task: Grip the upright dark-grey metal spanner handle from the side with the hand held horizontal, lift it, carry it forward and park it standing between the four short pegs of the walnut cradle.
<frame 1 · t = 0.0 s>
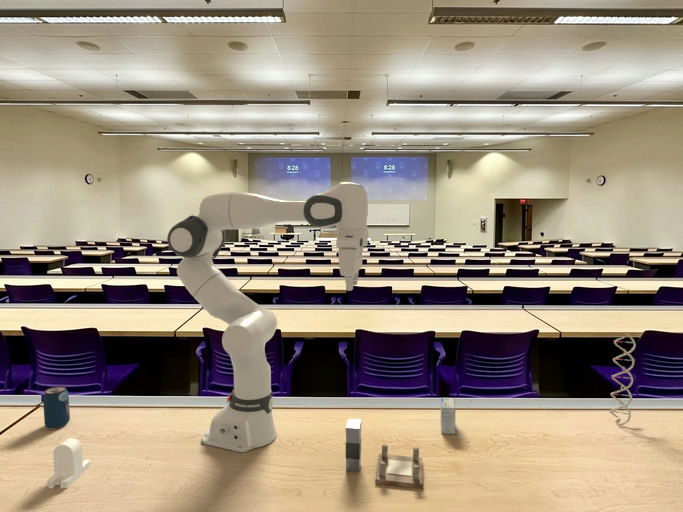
hand: (351, 287, 124), 48 cm above the table, tool pointing down, fingers open, 8 cm apart
peg cradle: (399, 472, 116), on the table
medicine box: (447, 428, 140), on the table
dna model: (619, 423, 144), on the table
cable organizer: (69, 477, 113), on the table
soda can: (57, 425, 141), on the table
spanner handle: (353, 467, 118), on the table
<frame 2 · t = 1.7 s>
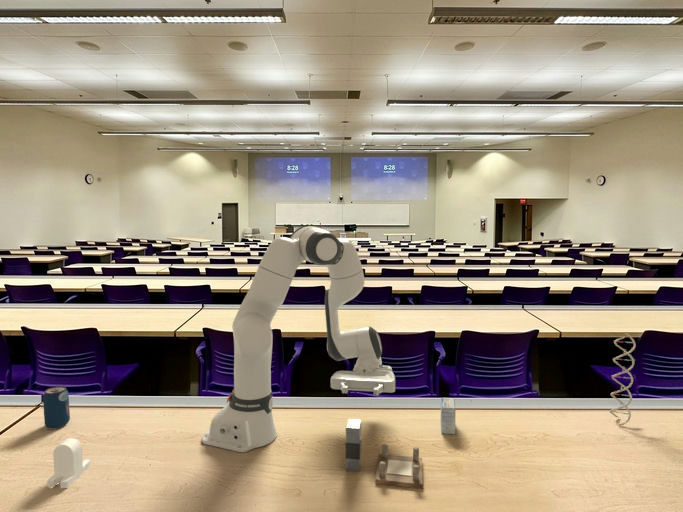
hand: (360, 392, 128), 16 cm above the table, tool horizontal, fingers open, 8 cm apart
nothing on the table moved.
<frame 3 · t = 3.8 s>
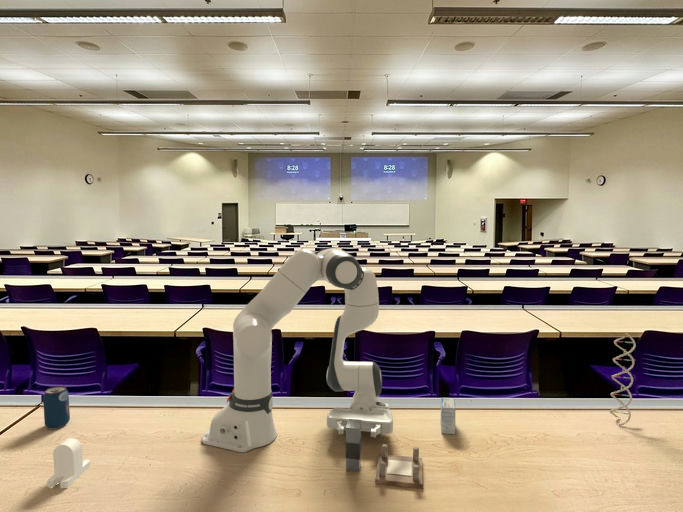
hand: (356, 433, 124), 6 cm above the table, tool horizontal, fingers open, 8 cm apart
nothing on the table moved.
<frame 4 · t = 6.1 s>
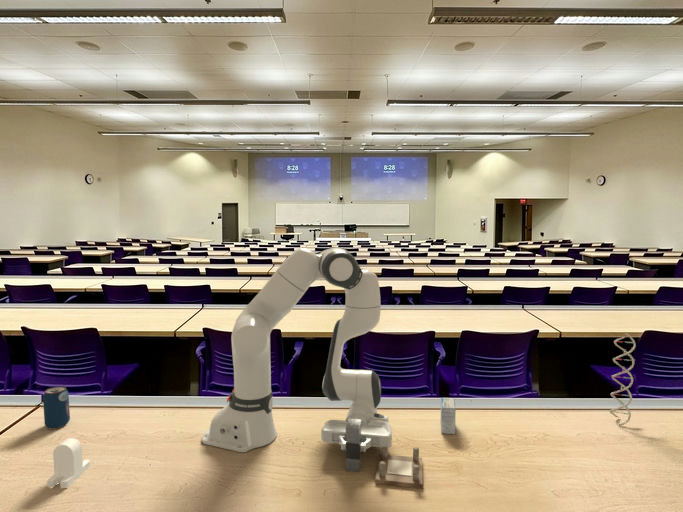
hand: (353, 448, 116), 6 cm above the table, tool horizontal, fingers closed on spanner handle, 4 cm apart
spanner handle: (353, 467, 118), on the table, touching gripper
everything else where it was.
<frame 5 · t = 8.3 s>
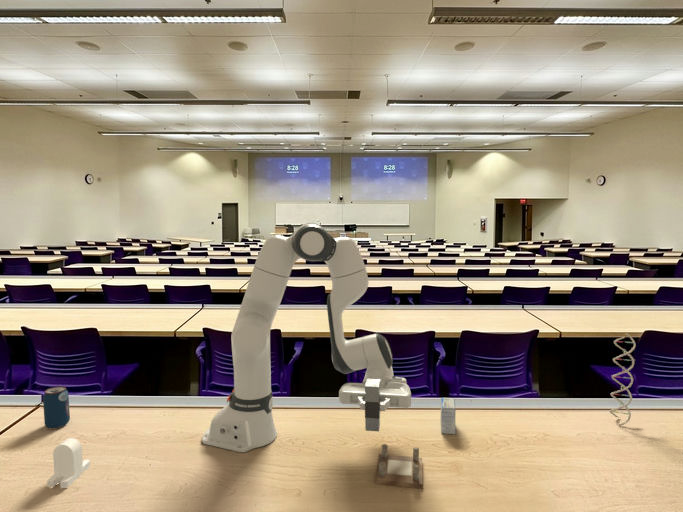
hand: (372, 407, 114), 18 cm above the table, tool horizontal, fingers closed on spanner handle, 4 cm apart
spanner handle: (372, 427, 116), point 12 cm above the table, touching gripper
everything else where it was.
when the fingers open (9 cm above the table, at t = 10.9 s): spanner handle drops 1 cm, resting on peg cradle.
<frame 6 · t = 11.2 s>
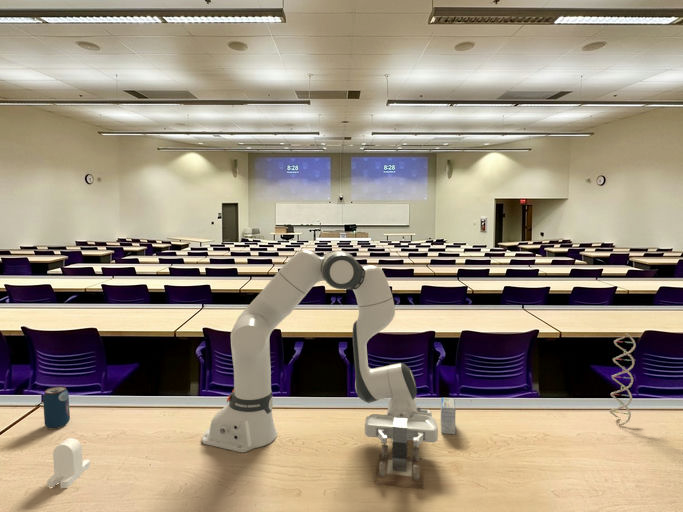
hand: (399, 442, 114), 9 cm above the table, tool horizontal, fingers open, 7 cm apart
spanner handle: (399, 467, 115), point 1 cm above the table, touching peg cradle
everything else where it was.
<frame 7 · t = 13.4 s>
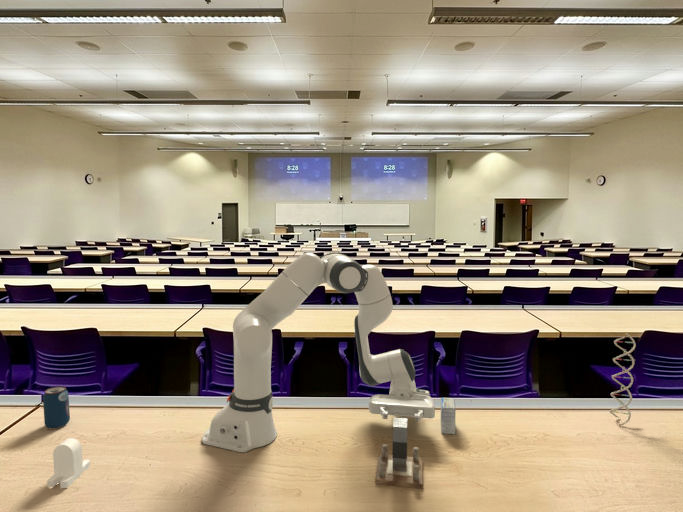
hand: (400, 418, 127), 9 cm above the table, tool horizontal, fingers open, 8 cm apart
nothing on the table moved.
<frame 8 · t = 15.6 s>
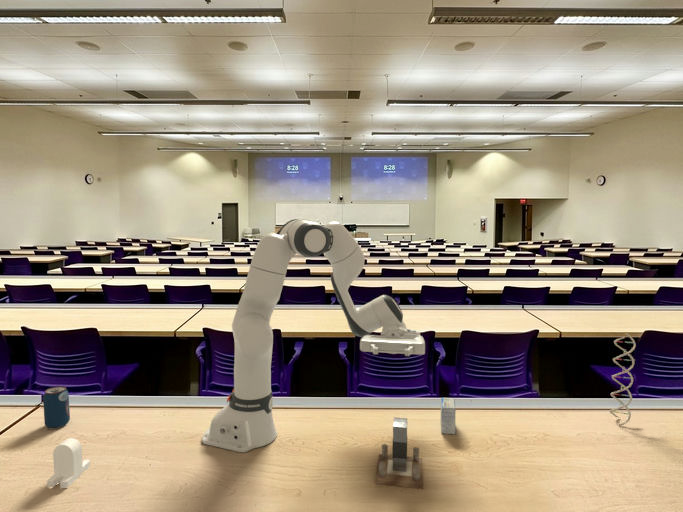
hand: (391, 352, 128), 28 cm above the table, tool horizontal, fingers open, 8 cm apart
nothing on the table moved.
at the end: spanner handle inside the target area on the peg cradle (0.0 cm from its centre), point 1.4 cm above the peg cradle's base; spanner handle tilted 0°; the gripper is holding nothing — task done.
